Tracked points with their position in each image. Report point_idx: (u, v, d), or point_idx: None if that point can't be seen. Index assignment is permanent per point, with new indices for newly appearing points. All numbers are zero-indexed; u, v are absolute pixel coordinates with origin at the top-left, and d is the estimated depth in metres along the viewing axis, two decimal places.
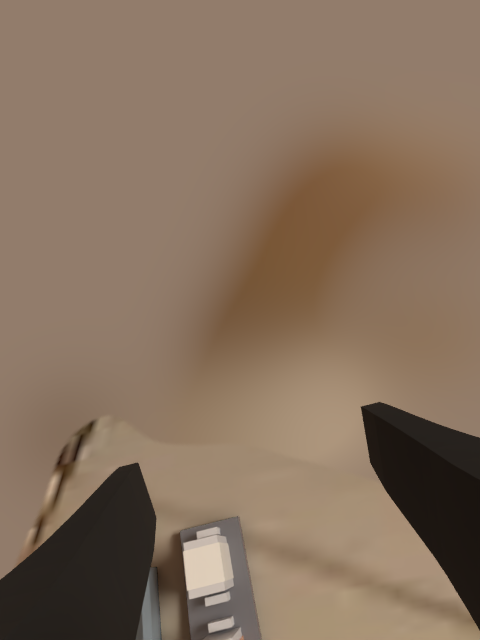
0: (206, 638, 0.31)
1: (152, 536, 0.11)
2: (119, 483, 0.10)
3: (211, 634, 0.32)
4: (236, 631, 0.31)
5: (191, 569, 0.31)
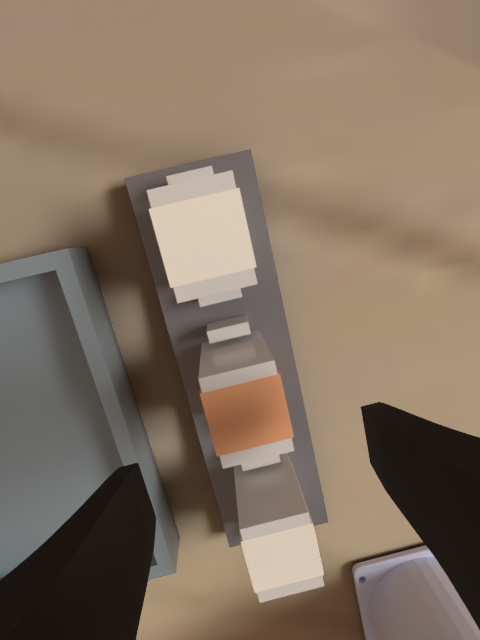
0: (206, 352, 0.17)
1: (152, 536, 0.11)
2: (119, 483, 0.10)
3: (208, 341, 0.19)
4: (262, 340, 0.17)
5: (175, 246, 0.13)
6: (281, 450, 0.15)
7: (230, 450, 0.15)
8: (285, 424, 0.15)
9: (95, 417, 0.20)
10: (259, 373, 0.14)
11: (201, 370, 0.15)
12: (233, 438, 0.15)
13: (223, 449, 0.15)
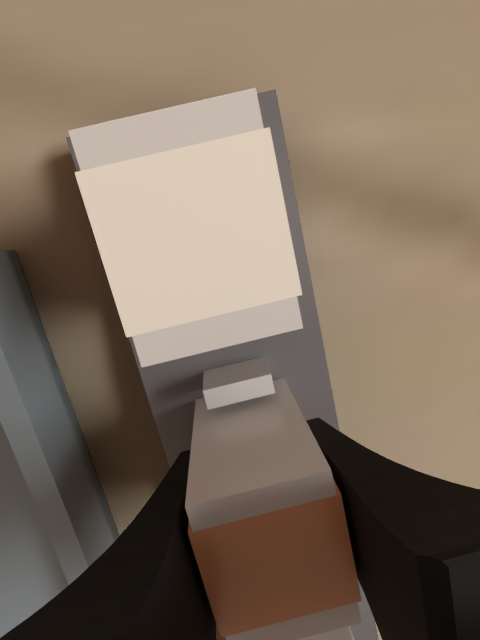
0: (203, 424, 0.10)
1: None
2: None
3: None
4: (294, 406, 0.10)
5: (134, 253, 0.06)
6: (338, 623, 0.08)
7: (245, 626, 0.08)
8: (347, 580, 0.08)
9: (35, 507, 0.13)
10: (301, 494, 0.07)
11: (192, 478, 0.08)
12: (251, 606, 0.08)
13: (232, 625, 0.08)
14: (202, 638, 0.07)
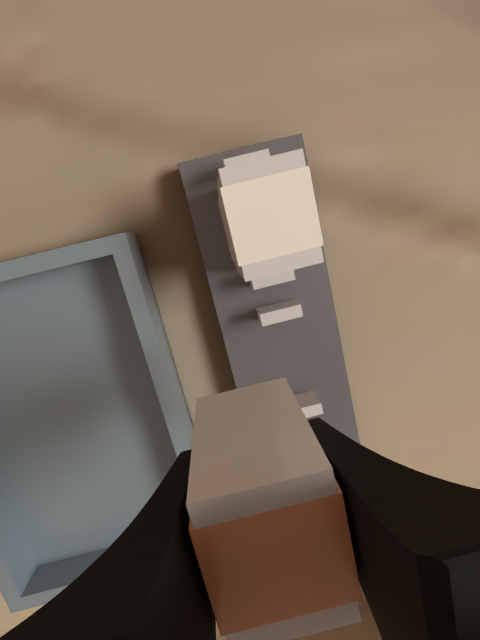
0: (203, 422, 0.10)
1: None
2: None
3: (207, 396, 0.12)
4: (296, 404, 0.10)
5: (244, 225, 0.13)
6: (338, 622, 0.08)
7: (245, 625, 0.08)
8: (347, 579, 0.08)
9: (142, 403, 0.20)
10: (303, 492, 0.07)
11: (193, 476, 0.08)
12: (251, 605, 0.08)
13: (233, 623, 0.08)
14: (202, 638, 0.07)
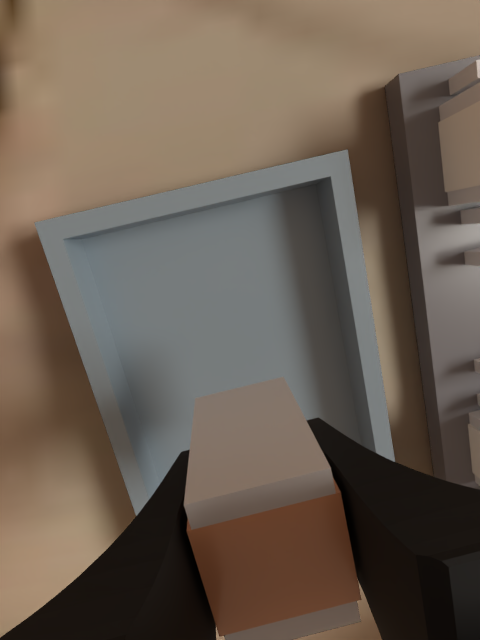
0: (202, 422, 0.10)
1: None
2: None
3: None
4: (294, 404, 0.10)
5: None
6: (337, 621, 0.08)
7: (244, 625, 0.08)
8: (346, 578, 0.08)
9: (317, 362, 0.18)
10: (301, 492, 0.07)
11: (191, 476, 0.08)
12: (250, 605, 0.08)
13: (231, 624, 0.08)
14: (202, 638, 0.07)
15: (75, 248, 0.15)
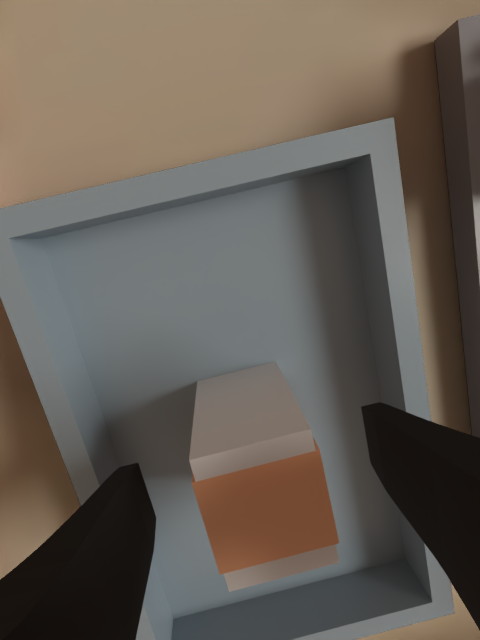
0: (203, 400, 0.12)
1: (152, 536, 0.11)
2: (119, 483, 0.10)
3: (206, 379, 0.14)
4: (284, 383, 0.12)
5: None
6: (319, 562, 0.10)
7: (240, 565, 0.09)
8: (326, 524, 0.09)
9: (342, 393, 0.14)
10: (286, 449, 0.09)
11: (194, 440, 0.10)
12: (245, 547, 0.09)
13: (229, 563, 0.09)
14: None
15: (30, 250, 0.11)
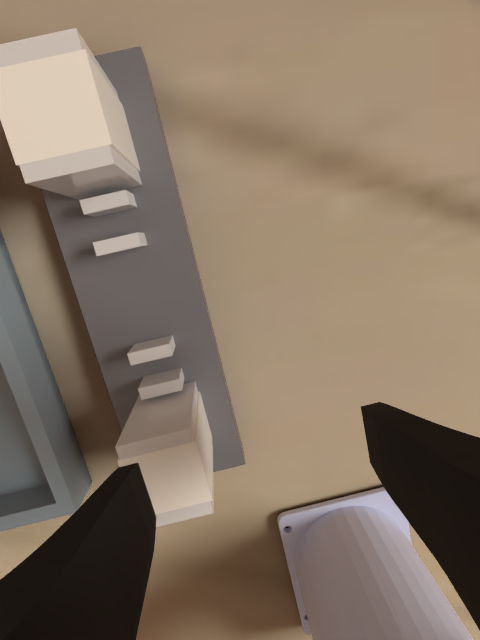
0: None
1: (152, 536, 0.11)
2: (119, 483, 0.10)
3: None
4: None
5: (17, 117, 0.12)
6: None
7: None
8: None
9: None
10: None
11: None
12: None
13: None
14: None
15: None
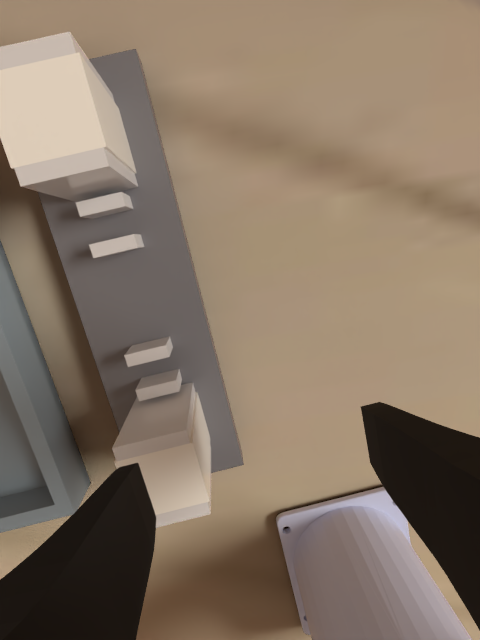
0: None
1: (152, 536, 0.11)
2: (119, 483, 0.10)
3: None
4: None
5: (12, 120, 0.12)
6: None
7: None
8: None
9: None
10: None
11: None
12: None
13: None
14: None
15: None
